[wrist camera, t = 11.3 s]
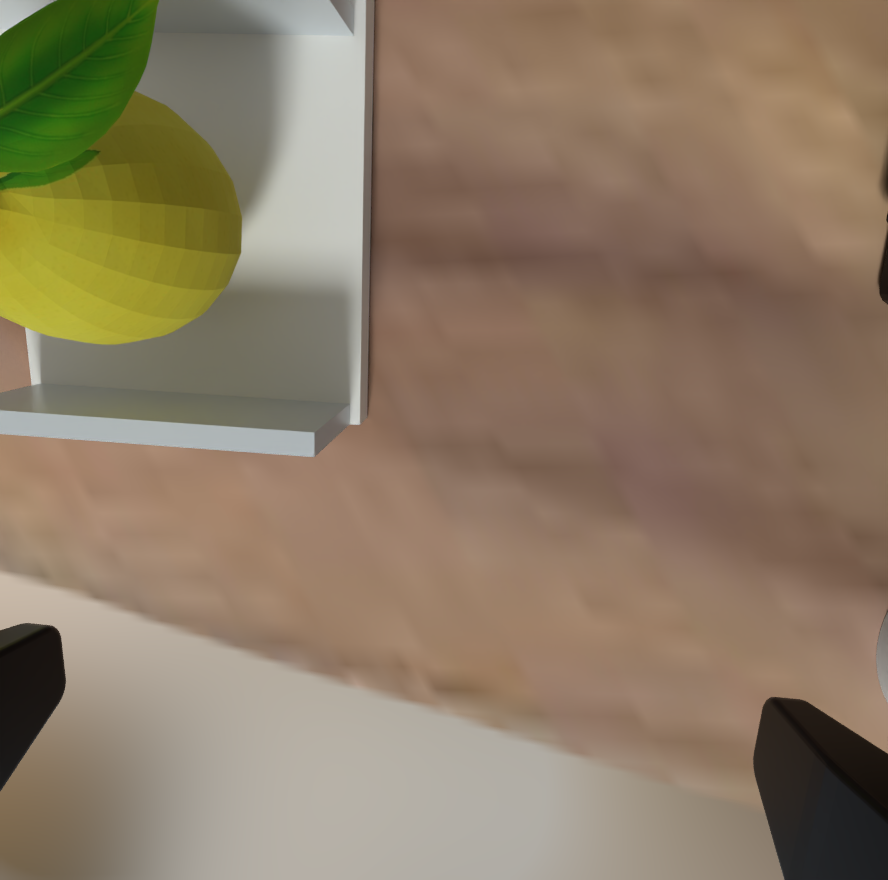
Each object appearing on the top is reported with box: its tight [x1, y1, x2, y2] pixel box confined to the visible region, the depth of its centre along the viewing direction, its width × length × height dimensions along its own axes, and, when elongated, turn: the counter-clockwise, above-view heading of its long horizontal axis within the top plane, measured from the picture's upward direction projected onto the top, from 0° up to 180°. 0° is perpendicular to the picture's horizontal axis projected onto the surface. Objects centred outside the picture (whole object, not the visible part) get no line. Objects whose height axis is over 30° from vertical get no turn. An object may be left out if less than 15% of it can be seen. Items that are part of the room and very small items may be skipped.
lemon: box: [0, 0, 242, 345], centre depth 13 cm, size 7×6×10 cm
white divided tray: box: [0, 0, 375, 457], centre depth 16 cm, size 10×21×4 cm, turn 177°
